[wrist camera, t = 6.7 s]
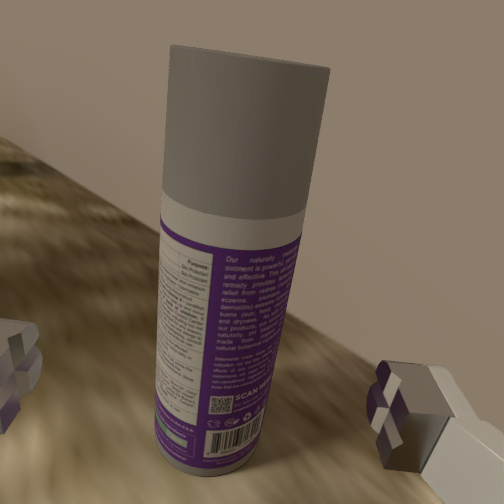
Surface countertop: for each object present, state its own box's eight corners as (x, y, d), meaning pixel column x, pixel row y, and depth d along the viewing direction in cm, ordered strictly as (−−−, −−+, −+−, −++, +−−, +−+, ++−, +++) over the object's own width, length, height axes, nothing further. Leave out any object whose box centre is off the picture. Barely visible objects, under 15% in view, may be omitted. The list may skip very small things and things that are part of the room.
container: (261, 394, 20) (325, 66, 13) (257, 485, 16) (348, 71, 9) (168, 381, 20) (185, 46, 13) (139, 468, 16) (142, 40, 9)
